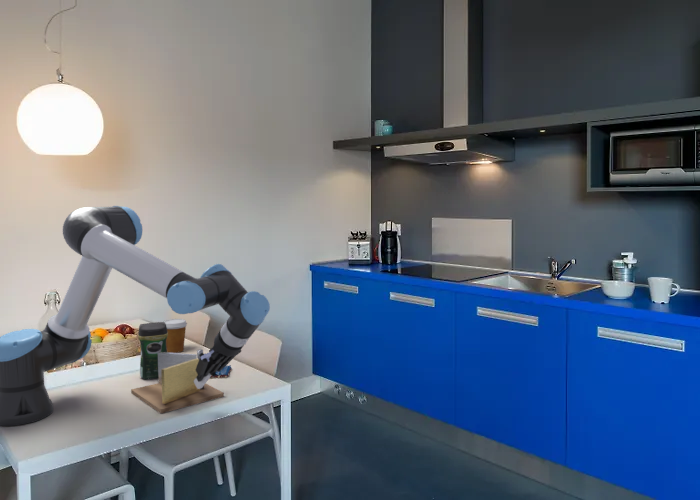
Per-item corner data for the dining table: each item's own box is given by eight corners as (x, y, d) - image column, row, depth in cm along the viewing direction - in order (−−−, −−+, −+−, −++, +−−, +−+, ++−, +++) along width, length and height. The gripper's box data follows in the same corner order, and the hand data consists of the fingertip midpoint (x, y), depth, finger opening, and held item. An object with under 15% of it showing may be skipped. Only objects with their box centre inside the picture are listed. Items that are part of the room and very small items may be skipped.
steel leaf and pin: (207, 390, 177) (206, 348, 176) (202, 393, 174) (201, 351, 173) (161, 386, 181) (160, 345, 179) (156, 389, 178) (154, 348, 176)
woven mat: (201, 370, 198) (201, 365, 198) (231, 370, 199) (231, 364, 199) (196, 380, 188) (196, 374, 188) (228, 379, 189) (228, 373, 189)
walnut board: (160, 413, 158) (160, 409, 158) (131, 393, 174) (131, 389, 174) (223, 396, 171) (223, 392, 171) (191, 379, 188) (190, 375, 188)
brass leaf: (197, 389, 173) (196, 358, 172) (199, 390, 172) (198, 358, 171) (162, 403, 162) (161, 369, 161) (165, 403, 161) (163, 370, 160)
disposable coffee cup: (183, 354, 217) (182, 324, 216) (159, 354, 217) (158, 324, 216) (190, 347, 226) (189, 318, 225) (167, 347, 226) (166, 318, 225)
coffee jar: (168, 371, 196) (166, 319, 195) (170, 377, 189) (168, 324, 187) (139, 374, 193) (137, 321, 191) (140, 381, 185) (138, 326, 183)
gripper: (218, 354, 142) (183, 402, 154) (258, 343, 152) (222, 389, 164) (205, 330, 145) (172, 379, 157) (245, 321, 155) (210, 368, 167)
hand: (197, 384), depth 161 cm, fingers closed
